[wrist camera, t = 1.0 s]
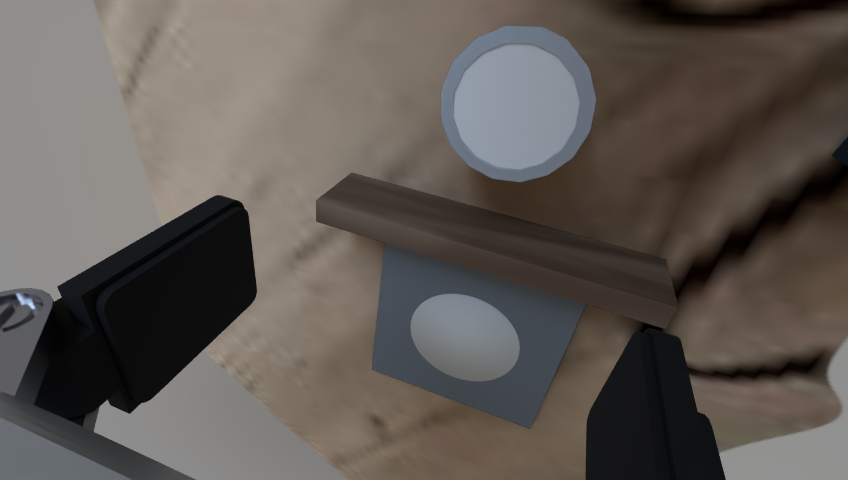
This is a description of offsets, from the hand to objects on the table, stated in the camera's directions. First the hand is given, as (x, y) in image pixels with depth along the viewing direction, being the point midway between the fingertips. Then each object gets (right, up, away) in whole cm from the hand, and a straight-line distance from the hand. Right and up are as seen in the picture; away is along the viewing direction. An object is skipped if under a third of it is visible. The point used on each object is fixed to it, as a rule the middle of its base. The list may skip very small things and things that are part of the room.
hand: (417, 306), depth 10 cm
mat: (+4, -6, +25) cm, 26 cm away
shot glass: (+6, +11, +15) cm, 19 cm away
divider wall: (+5, +3, +20) cm, 21 cm away
